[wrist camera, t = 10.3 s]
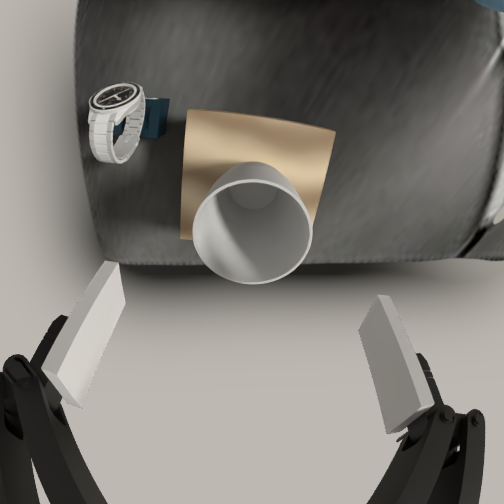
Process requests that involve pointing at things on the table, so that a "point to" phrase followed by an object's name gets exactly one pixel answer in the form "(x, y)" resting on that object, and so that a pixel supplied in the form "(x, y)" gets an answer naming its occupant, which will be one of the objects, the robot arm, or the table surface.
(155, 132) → the watch
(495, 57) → the table surface
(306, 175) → the small wooden table
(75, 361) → the robot arm
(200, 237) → the cup
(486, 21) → the table surface
